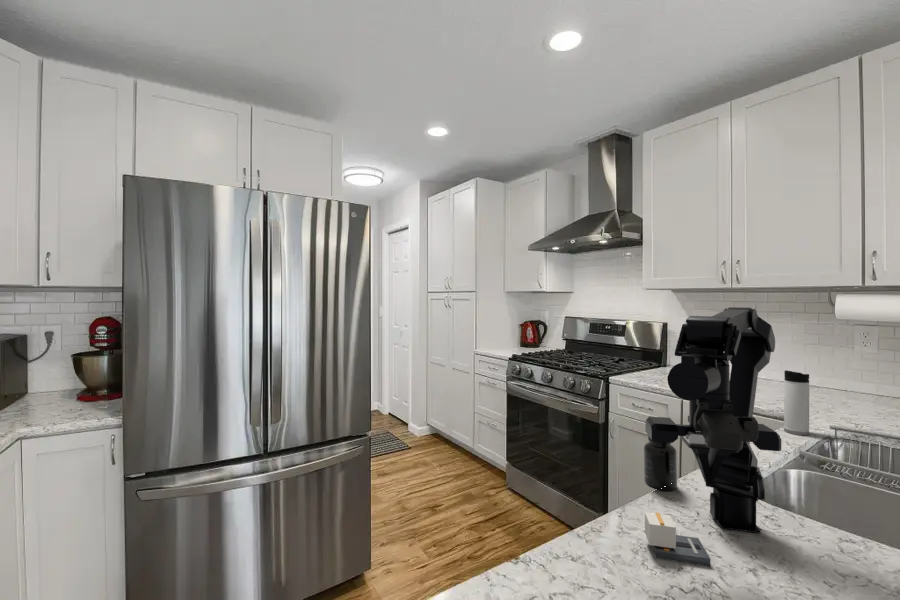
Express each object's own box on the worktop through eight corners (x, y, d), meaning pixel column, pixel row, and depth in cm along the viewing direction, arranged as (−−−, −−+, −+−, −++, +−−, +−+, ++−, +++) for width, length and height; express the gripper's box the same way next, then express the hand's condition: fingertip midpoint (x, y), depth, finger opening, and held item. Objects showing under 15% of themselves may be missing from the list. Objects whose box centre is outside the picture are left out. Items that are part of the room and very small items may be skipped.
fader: (669, 535, 73) (669, 513, 73) (675, 548, 69) (675, 525, 69) (644, 532, 74) (644, 510, 74) (649, 544, 70) (649, 522, 70)
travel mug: (778, 429, 138) (778, 369, 138) (796, 429, 138) (796, 368, 138) (795, 436, 131) (796, 372, 131) (814, 435, 132) (814, 372, 132)
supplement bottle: (666, 478, 100) (666, 428, 100) (683, 491, 93) (683, 438, 93) (638, 479, 100) (638, 428, 100) (653, 492, 93) (653, 438, 93)
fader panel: (698, 544, 73) (698, 537, 73) (710, 566, 67) (710, 557, 67) (648, 538, 75) (648, 530, 75) (655, 558, 69) (656, 550, 69)
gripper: (659, 398, 65) (659, 499, 65) (801, 406, 60) (801, 514, 60) (645, 384, 75) (644, 470, 75) (764, 390, 71) (763, 482, 71)
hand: (708, 483), depth 70 cm, fingers closed
